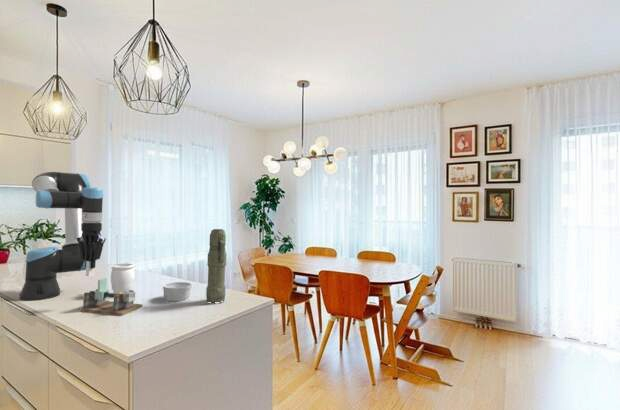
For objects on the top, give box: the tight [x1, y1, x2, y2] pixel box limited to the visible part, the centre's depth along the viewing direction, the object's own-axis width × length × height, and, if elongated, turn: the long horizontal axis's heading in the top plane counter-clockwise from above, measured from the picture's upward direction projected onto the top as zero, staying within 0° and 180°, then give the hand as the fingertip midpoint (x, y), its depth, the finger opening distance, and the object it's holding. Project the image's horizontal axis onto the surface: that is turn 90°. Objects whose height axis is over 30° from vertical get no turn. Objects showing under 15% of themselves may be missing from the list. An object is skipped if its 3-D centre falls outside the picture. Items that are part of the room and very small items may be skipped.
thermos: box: [205, 228, 227, 303], centre depth 156 cm, size 9×12×35 cm
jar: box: [110, 263, 136, 294], centre depth 163 cm, size 11×10×15 cm
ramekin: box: [162, 281, 193, 303], centre depth 159 cm, size 13×13×7 cm
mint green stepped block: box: [94, 277, 110, 300], centre depth 141 cm, size 4×4×9 cm
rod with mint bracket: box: [80, 288, 143, 317], centre depth 140 cm, size 20×12×8 cm, turn 80°
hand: (89, 275), depth 142 cm, fingers closed
